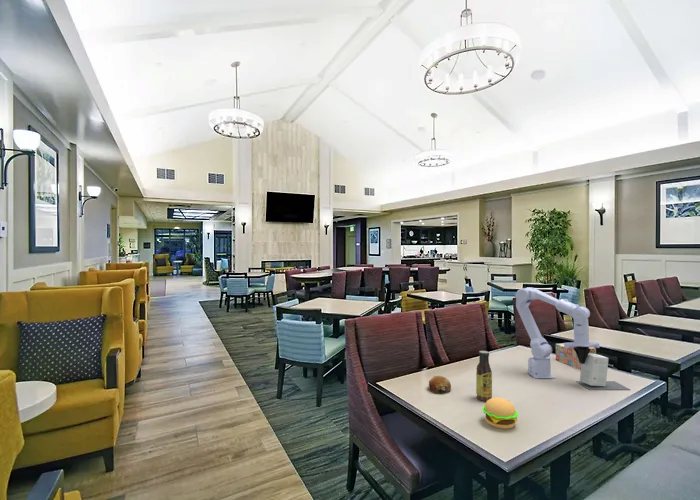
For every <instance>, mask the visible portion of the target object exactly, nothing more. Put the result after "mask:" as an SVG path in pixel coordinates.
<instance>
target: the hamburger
mask: <svg viewBox="0 0 700 500" xmlns="http://www.w3.org/2000/svg"><path fill="white" fill-rule="evenodd" d="M482 411H483V413H484V414H485V417H484V419H485V421H486V422H487V424H488V425H489V426H491V427H494V428H496V429H502V430H508V429H512V428H514V427H515V425H516V423H517V422H518V416H519V411H518V410H516V407H515V406H514V404H513V403H512V402H510V400H508V399H506V398H503V397H492V398H491V399H489V400H488V401H485V403H484V405H483V406H482Z"/></svg>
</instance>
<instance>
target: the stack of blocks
mask: <svg viewBox="0 0 700 500" xmlns="http://www.w3.org/2000/svg"><path fill="white" fill-rule="evenodd" d="M564 343H565V342H563V343H555V344H554V345H555V360H556V361H558V362H560V363H563V364H566V365H568V366H570V367H572V368H574V367H575V369H577V370H579V369H580V370H579V371H581V363H579V359H578V356H577V354H576V352H575V350H574V349H573V347H569V348H566V347H564ZM589 349H590V352H589V354H597V348H596V347H589Z"/></svg>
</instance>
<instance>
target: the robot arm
mask: <svg viewBox="0 0 700 500" xmlns="http://www.w3.org/2000/svg"><path fill="white" fill-rule="evenodd" d="M514 296H515V298H516V299H515V307H516V310H517V312H518V315H519V316H520V319H521V321H522V323H523V325H524V328H525V330H526V332H527V334H528V336H529V339H530V343H529V346H530V350H531V351H530V352H531V355H532V357H529V358H528V361H527V363H528V364H527V365H528V366H527V368H528V371H527V374H529V375H530V376H532V377H533V378H534V379H555V378H556V377H555V376H554V375H552V374H551V373H552V370H551V368H552V367H551V356H550V355H551V354H552V353H553V347H552V346H551V345H550V344H549V343H548V341H547V339H546V338H544V337H543V336H542V334H541V332H540V329H539V327H538V325H537V323H536V321H535V318H534V316H533V314H532V312H531V310H530V308H529V307H530V304H531V302H533V301H534V300H539V301H542V302H545V303H547V304H550V305H551V306H555V309H556V310H557V311H559V312H562V313H564V314H566V315H568V316H570V317H571V318H572V319H573V341H570V342H563V343H564V347H566V348H569V347H573V349H574V350H575V352H576V354H577V356H578V359H579V363H581V364H585V361H586V358H587V356H588V354H589V352H590V349H589V347H594V348H596V349H600V343H598V342H591V341H590V334H589V333H590V330H589V318H590V317H591V312H590V309H588V308H587V307H586V306H582V305H580V304H577V303H576V304H575V303H573V302H571V301H569V300H568V299H566V298H561V299H558V298H556V297H553V296H552V295H550V294H547V293H545V292H543V291H541V290H539V289H537V288H534V287H532V286H531V287H530V286H528V287H523V288H519V289H518V290H517V291H516V293H515V295H514Z"/></svg>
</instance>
